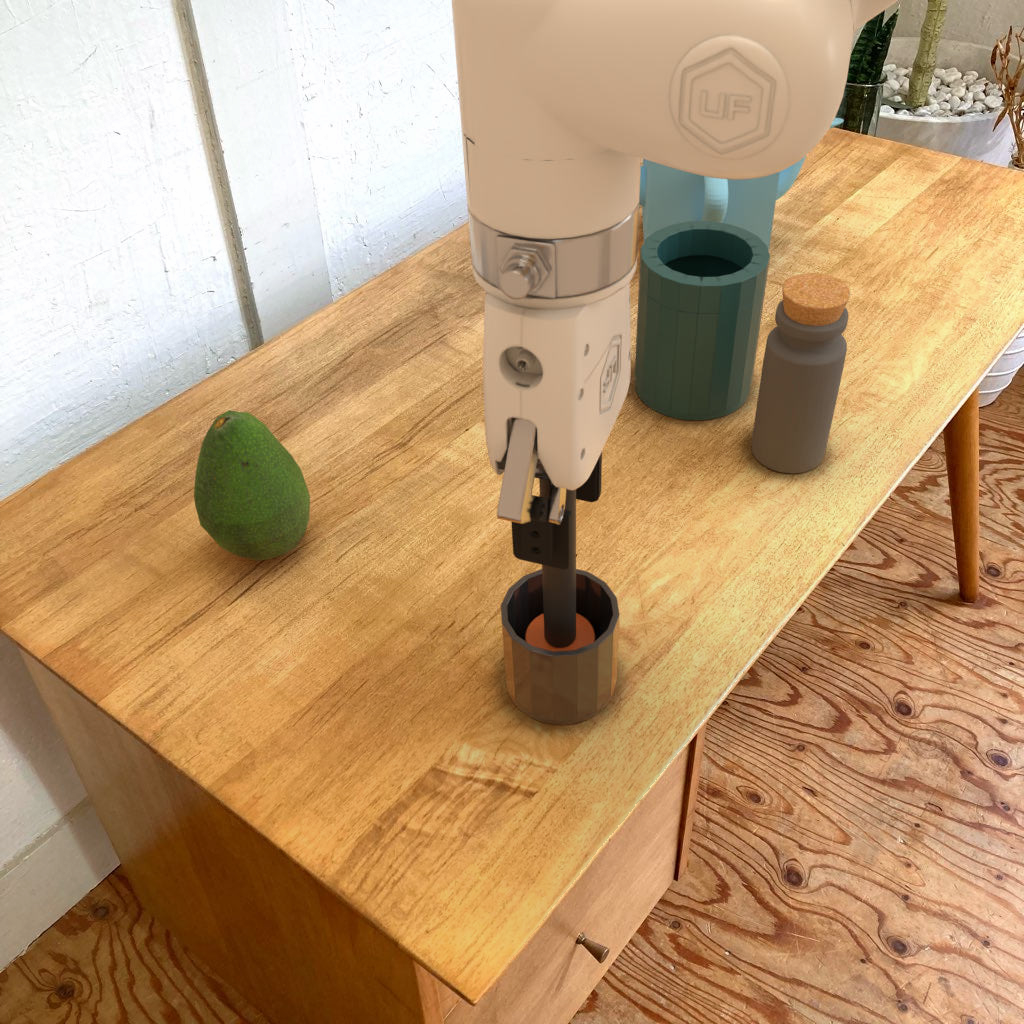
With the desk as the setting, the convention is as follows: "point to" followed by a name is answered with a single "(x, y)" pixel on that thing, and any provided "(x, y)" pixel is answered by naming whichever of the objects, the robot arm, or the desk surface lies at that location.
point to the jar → (699, 318)
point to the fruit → (249, 489)
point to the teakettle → (712, 198)
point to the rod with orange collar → (560, 598)
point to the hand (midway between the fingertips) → (558, 524)
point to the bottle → (801, 374)
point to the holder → (560, 653)
